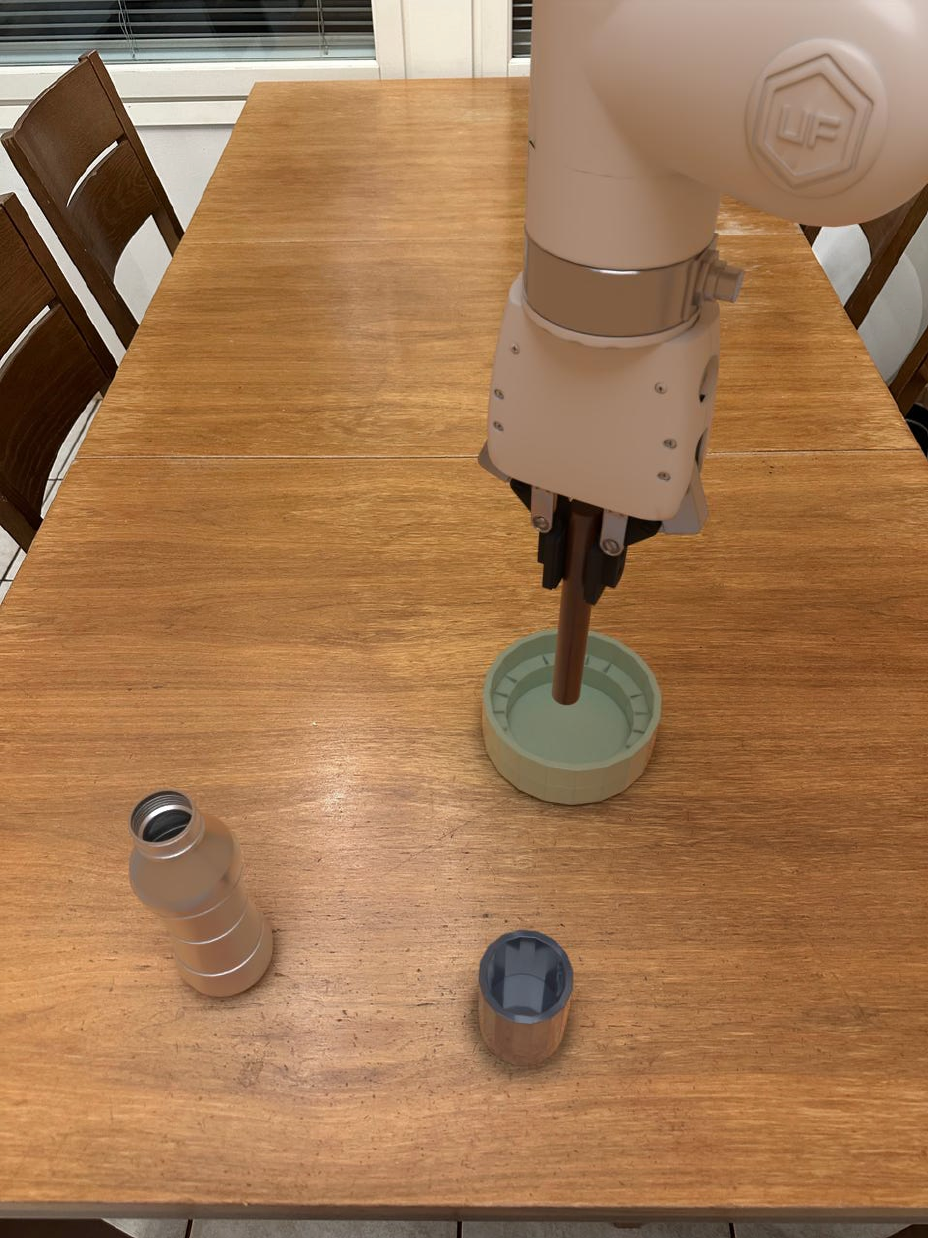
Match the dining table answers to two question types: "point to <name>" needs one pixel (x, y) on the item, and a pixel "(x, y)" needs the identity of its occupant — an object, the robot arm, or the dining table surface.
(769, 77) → the robot arm
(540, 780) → the bowl
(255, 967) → the plastic bottle
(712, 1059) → the dining table surface
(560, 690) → the stirring stick
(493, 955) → the utensil pot
